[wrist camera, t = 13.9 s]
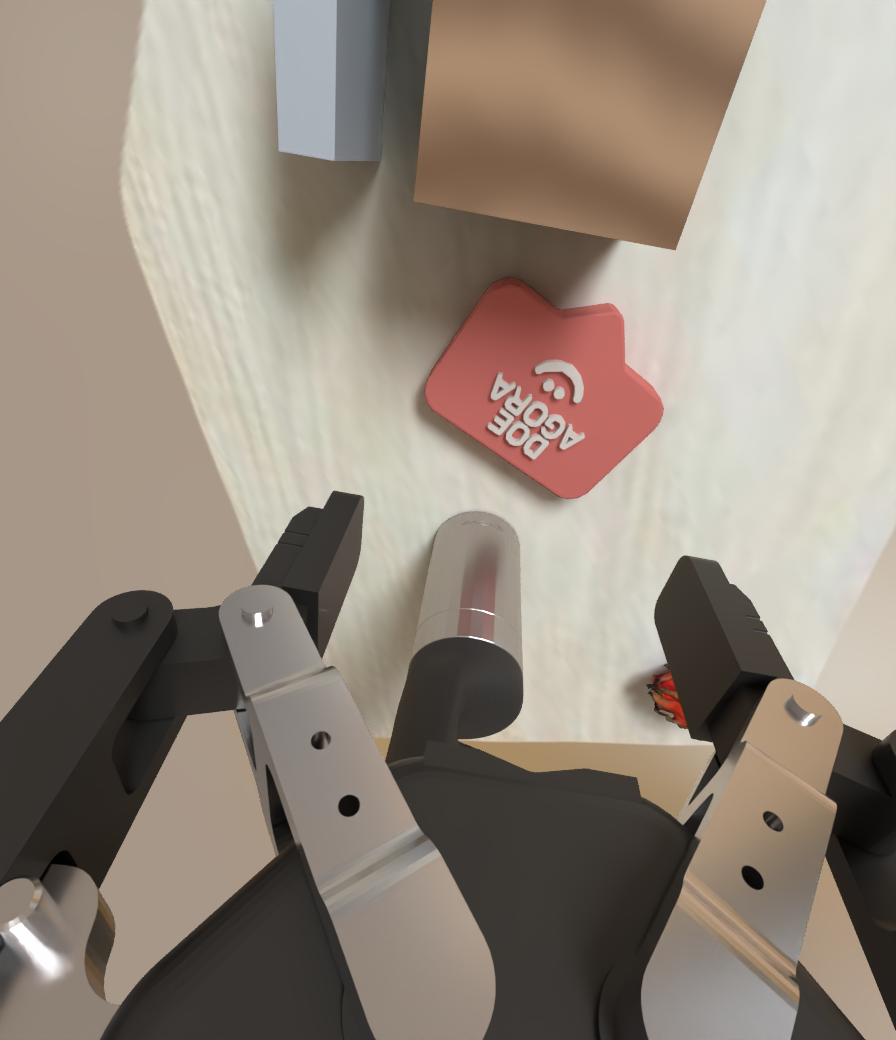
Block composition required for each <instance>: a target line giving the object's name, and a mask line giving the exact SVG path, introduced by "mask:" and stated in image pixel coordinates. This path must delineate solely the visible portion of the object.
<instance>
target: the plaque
mask: <svg viewBox="0 0 896 1040" xmlns="http://www.w3.org/2000/svg"><path fill="white" fill-rule="evenodd" d="M425 398H426V402H427V403H428V405H429V406H430V408H431V409H432V410H433V411H434V412H436V413H437V414H439V415H440V416H442V417H443V418H444V419H446V420H447V421H449V422H450V423H452V424H453V425H455V426H456V427H458V428H459V429H461V430H462V431H463V432H465V433H466V434H468V435H469V436H471V437H472V438H474V439H475V440H477V441H478V442H480V443H481V444H482V445H484V446H485V447H487V448H488V449H490V450H491V451H493V452H494V453H496V454H497V455H499V456H500V457H501V458H503V459H504V460H506V461H507V462H509V463H510V464H512V465H513V466H515V467H516V468H518V469H519V470H520V471H522V472H523V473H525V474H526V475H528V476H529V477H531V478H532V479H534V480H535V481H537V482H538V483H540V484H541V485H542V486H544V487H545V488H547V489H548V490H550V491H551V492H553V493H554V494H556V495H557V496H559V497H562V498H566V499H573V498H579V497H581V496H583V495H585V494H587V493H588V492H589V491H590V490H591V489H592V488H593V487H594V486H595V485H596V484H597V483H598V482H599V481H601V480H602V479H603V478H604V477H605V476H606V475H607V474H608V473H609V472H610V471H611V470H612V469H613V468H614V467H615V466H616V465H617V464H618V463H620V462H621V461H622V460H623V459H624V458H625V457H626V456H627V455H628V454H629V453H630V452H631V451H632V450H633V449H634V448H635V447H636V446H637V445H639V444H640V443H641V442H642V441H643V440H644V439H645V438H646V437H647V436H648V435H649V434H650V433H651V432H652V431H653V430H654V429H655V428H656V427H657V425H658V424H659V423H660V421H661V418H662V416H663V410H664V408H663V405H662V402H661V399H660V397H659V396H658V394H657V393H656V391H655V390H654V388H653V386H652V385H651V384H649V383H648V382H647V381H646V380H645V379H643V378H642V377H641V376H640V375H639V374H637V373H636V372H635V371H634V370H633V369H631V368H630V367H629V366H628V365H627V364H625V339H624V319H623V317H622V315H621V313H620V312H619V311H618V309H617V308H616V307H615V306H614V305H613V304H609V303H605V304H598V305H592V306H585V307H578V308H571V309H564V310H560V309H557V308H555V307H554V306H553V305H552V304H550V303H549V302H548V301H547V300H545V299H544V298H543V297H541V296H540V295H539V294H538V293H536V292H535V291H534V290H533V289H531V288H530V287H529V286H528V285H526V284H525V283H524V282H523V281H521V280H519V279H514V278H504V279H501V280H499V281H496V282H494V283H493V284H492V285H491V286H490V287H489V288H488V289H487V290H486V291H485V293H484V294H483V296H482V297H481V299H480V300H479V302H478V303H477V305H476V306H475V308H474V309H473V311H472V312H471V313H470V315H469V316H468V318H467V319H466V321H465V322H464V324H463V325H462V327H461V328H460V330H459V331H458V333H457V334H456V336H455V337H454V338H453V340H452V341H451V343H450V344H449V346H448V347H447V349H446V350H445V352H444V353H443V355H442V356H441V358H440V359H439V361H438V362H437V363H436V365H435V366H434V368H433V369H432V372H431V374H430V376H429V379H428V381H427V384H426V387H425Z"/></svg>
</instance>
